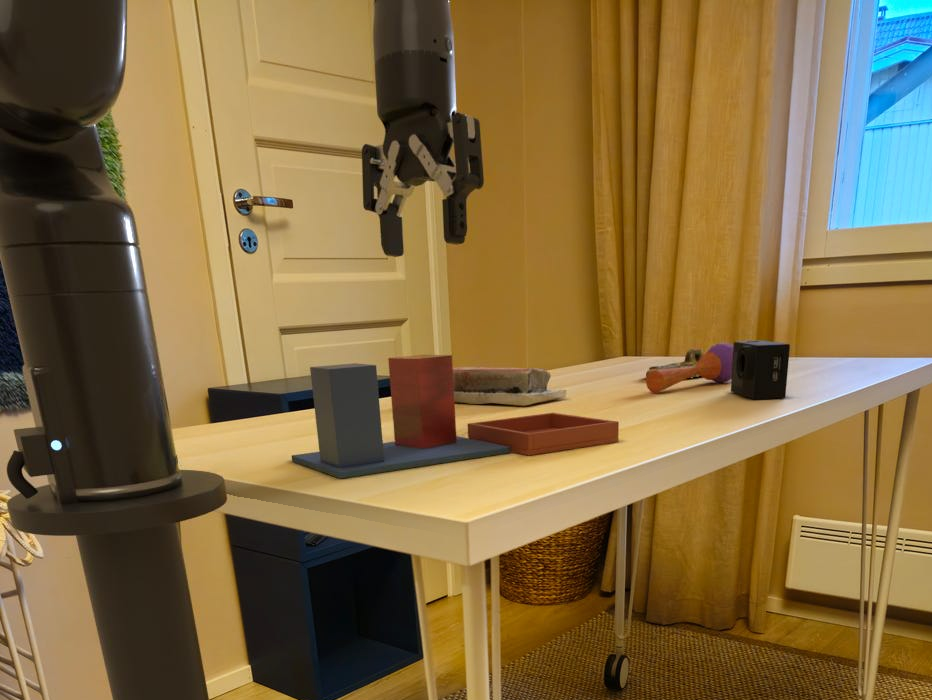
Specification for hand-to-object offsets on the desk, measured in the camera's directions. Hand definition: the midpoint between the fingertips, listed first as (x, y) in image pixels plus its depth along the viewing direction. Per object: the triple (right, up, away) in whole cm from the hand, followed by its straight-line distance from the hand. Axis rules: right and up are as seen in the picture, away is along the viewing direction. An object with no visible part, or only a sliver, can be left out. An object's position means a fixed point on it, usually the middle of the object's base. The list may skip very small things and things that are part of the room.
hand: (423, 249), depth 84 cm
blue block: (-6, -22, -5) cm, 23 cm away
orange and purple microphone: (+39, +1, +48) cm, 62 cm away
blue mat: (-2, -20, 0) cm, 21 cm away
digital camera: (+43, -5, +35) cm, 56 cm away
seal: (+40, +7, +64) cm, 76 cm away
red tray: (+12, -18, +5) cm, 22 cm away
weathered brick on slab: (+8, -3, +42) cm, 43 cm away
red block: (0, -18, +3) cm, 19 cm away
